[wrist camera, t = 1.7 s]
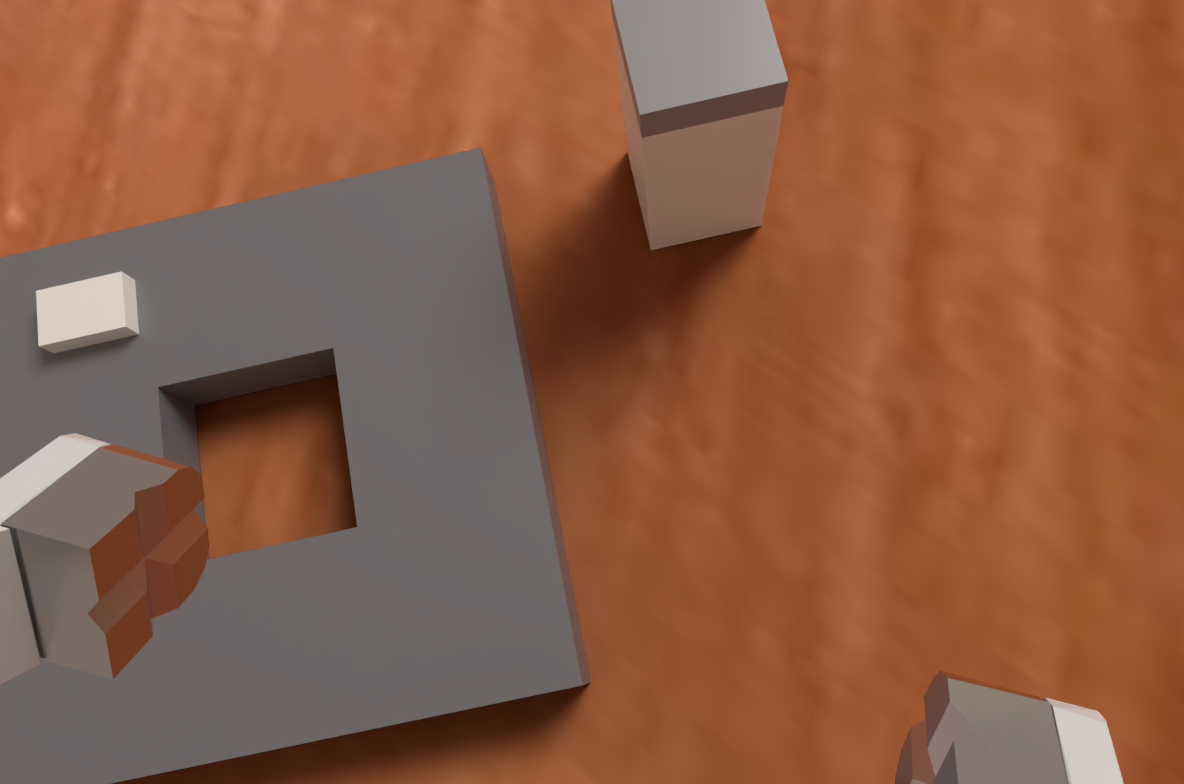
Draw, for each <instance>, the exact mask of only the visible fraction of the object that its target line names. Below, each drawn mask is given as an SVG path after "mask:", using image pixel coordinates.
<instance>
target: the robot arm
mask: <svg viewBox="0 0 1184 784" xmlns="http://www.w3.org/2000/svg"><path fill="white" fill-rule="evenodd" d="M203 499H204V492H203V485H202V478H201V474H200V473H199V472H197V471H196V470H195V469H193V468H192V467H190V466H186V465H183V464H180V463H176V462H173V461H170V460H166V459H163V458H160V457H156V456H153V455H150V454H146V453H143V452H140V451H136V450H133V449H130V448H126V447H123V446H120V445H116V444H109V443H106V442H103V441H99V440H96V439H93V438H90V437H86V436H83V435H80V434H77V433H74V434H68V435H62V436H59V437H58V438H56V439H55V440H53V441H52V442H51V443H49V444H48V445H46V446H45V447H44V448H42V449H41V450H40V451H38V452H37V453H35V454H34V455H33V456H31V457H30V458H28V459H27V460H26V461H24V462H23V463H21V464H20V465H19V466H17V467H16V468H14V469H13V470H12V471H10V472H9V473H7V474H6V475H5V476H3V477H2V478H0V684H2V683H4V682H6V681H8V680H10V679H12V678H14V677H16V676H18V675H20V674H22V673H24V672H26V671H28V670H30V669H32V668H34V667H35V666H37V665H39V664H41V659H42V660H45V661H49V662H53V663H56V664H60V665H63V666H67V667H70V668H74V669H78V670H81V671H85V672H88V673H92V674H96V675H99V676H103V677H106V678H110V679H114V678H115V677H116V676H117V675H118V674H119V673H120V672H121V670H122V669H123V668H124V667H125V666H126V665H127V664H128V663H129V662H130V661H131V660H132V658H133V657H134V656H135V655H136V654H137V653H138V652H139V651H140V650H141V649H142V648H143V646H144V645H145V644H146V643H147V642H148V641H149V640H150V639H151V638H152V637H153V618H155V617H157V616H160V615H162V614H165V613H167V612H170V611H172V610H175V609H177V608H179V607H180V606H181V605H182V603H183V602H184V601H185V600H186V599H187V598H188V596H189V595H190V594H191V593H192V592H193V591H194V589H195V587H196V585H197V583H198V581H199V579H200V577H201V575H202V573H203V571H204V568H205V566H206V561H207V555H208V549H209V541H208V529H207V528H206V526H205V525H204V523H203V522H202V521H201V519H200V518H199V517H198V515H197V514H196V512H195V511H194V509H195V508H196V507H197V505H198V504H199V503H200V502H201V501H202V500H203ZM924 699H925V717H926V720H925V721H922V722H920V723H918V724H916V725H914V726H912V727H911V728H910V730H909V733H908V735H907V738H906V740H905V743H904V745H903V748H902V750H901V754H900V758H899V763H898V767H897V771H896V776H895V784H1124V782H1123V778H1122V775H1121V771H1120V768H1119V764H1118V761H1117V757H1116V754H1115V750H1114V747H1113V743H1112V740H1111V736H1110V733H1109V729H1108V726H1107V722H1106V720H1105V719H1104V717H1103V716H1102V715H1101V714H1100V713H1099V712H1098V711H1096V710H1092V709H1088V708H1084V707H1080V706H1076V705H1072V704H1068V703H1064V702H1060V701H1056V700H1053V699H1049V698H1043V699H1042V698H1040V697H1038V696H1034V695H1030V694H1027V693H1023V692H1019V691H1015V690H1012V689H1008V688H1004V687H1000V686H996V685H993V684H989V683H985V682H981V681H978V680H974V679H970V678H966V677H962V676H959V675H955V674H951V673H947V672H943V671H940V672H939V673H938V674H937V675H936V676H935V677H934V678H933V680H932V682H931V684H930V686H929V688H928V690H927V692H926V695H925V697H924Z"/></svg>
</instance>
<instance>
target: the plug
mask: <svg viewBox="0 0 1184 784" xmlns="http://www.w3.org/2000/svg"><path fill="white" fill-rule="evenodd" d="M611 8H612V17H613V27H614V36H615V45H616V54H617V63H618V72H619V81H620V90H621V99H622V108H623V117H624V127H625V136H626V145H627V153H628V157H629V161H630V166H631V170H632V174H633V178H634V182H635V187H636V191H637V195H638V199H639V204H640V208H641V212H642V216H643V221H644V225H645V229H646V233H647V237H648V242H649V246H650V250H654V249H659V248H663V247H668V246H672V245H677V244H681V243H686V242H690V241H695V240H699V239H704V238H708V237H713V236H717V235H722V234H726V233H730V232H735V231H739V230H744V229H748V228H753V227H757V226H761V224H762V218H763V213H764V208H765V202H766V197H767V192H768V186H769V181H770V176H771V170H772V165H773V160H774V154H775V149H776V144H777V138H778V133H779V127H780V122H781V117H782V111H783V106H784V101H785V95H786V90H787V85H788V79H787V75H786V72H785V68H784V65H783V62H782V58H781V55H780V51H779V48H778V45H777V41H776V38H775V34H774V31H773V28H772V24H771V21H770V18H769V14H768V11H767V7H766V4H765V1H764V0H611Z"/></svg>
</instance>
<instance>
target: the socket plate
mask: <svg viewBox="0 0 1184 784" xmlns="http://www.w3.org/2000/svg"><path fill="white" fill-rule="evenodd" d="M334 374H337V379H338V387H339V394H340V402H341V409H342V417H343V424H344V432H345V439H346V447H347V454H348V462H349V469H350V477H351V484H352V492H353V499H354V507H355V514H356V522H357V527H355V528H351V529H346V530H341V531H337V532H332V533H327V534H323V535H318V536H314V537H309V538H304V539H300V540H295V541H290V542H286V543H281V544H277V545H272V546H267V547H263V548H258V549H253V550H249V551H244V552H240V553H235V554H230V555H226V556H221V557H216V558H212V559H209V558H208V555H207V561H206V566H205V568H204V571H203V573H202V575H201V577H200V579H199V581H198V583H197V585H196V587H195V589H194V591H193V592H192V593H191V594H190V595H189V596H188V598H187V599H186V600H185V601H184V602H183V603H182V605H181V606H180V607H179V608H177V609H175V610H172V611H170V612H167V613H165V614H162V615H160V616H157V617H155V618H153V637H152V638H151V639H150V640H149V641H148V642H147V643H146V644H145V645H144V646H143V648H142V649H141V650H140V651H139V652H138V653H137V654H136V655H135V656H134V657H133V658H132V660H131V661H130V662H129V663H128V664H127V665H126V666H125V667H124V668H123V669H122V670H121V672H120V673H119V674H118V675H117V676H116V677H115V678H114V679H110V678H106V677H103V676H99V675H96V674H92V673H88V672H85V671H81V670H78V669H74V668H70V667H67V666H63V665H60V664H56V663H53V662H49V661H45V660H42V659H41V664H39V665H37V666H35V667H34V668H32V669H30V670H28V671H26V672H24V673H22V674H20V675H18V676H16V677H14V678H12V679H10V680H8V681H6V682H4V683H2V684H0V784H112V783H116V782H121V781H126V780H131V779H136V778H140V777H145V776H150V775H155V774H160V773H164V772H169V771H174V770H179V769H184V768H188V767H193V766H198V765H203V764H208V763H212V762H217V761H222V760H227V759H232V758H236V757H241V756H246V755H251V754H256V753H260V752H265V751H270V750H275V749H280V748H284V747H289V746H294V745H299V744H304V743H308V742H313V741H318V740H323V739H328V738H332V737H337V736H342V735H347V734H352V733H357V732H361V731H366V730H371V729H376V728H381V727H385V726H390V725H395V724H400V723H405V722H409V721H414V720H419V719H424V718H429V717H433V716H438V715H443V714H448V713H453V712H457V711H462V710H467V709H472V708H477V707H481V706H486V705H491V704H496V703H501V702H505V701H510V700H515V699H520V698H525V697H529V696H534V695H539V694H544V693H549V692H553V691H558V690H563V689H568V688H573V687H577V686H582V685H585V684H588V683H590V677H589V672H588V667H587V662H586V656H585V651H584V646H583V641H582V636H581V630H580V625H579V620H578V615H577V610H576V604H575V599H574V594H573V589H572V583H571V578H570V573H569V568H568V563H567V557H566V552H565V547H564V542H563V537H562V531H561V526H560V521H559V516H558V510H557V505H556V500H555V495H554V490H553V484H552V479H551V474H550V469H549V463H548V458H547V453H546V448H545V443H544V437H543V432H542V427H541V422H540V417H539V411H538V406H537V401H536V396H535V390H534V385H533V380H532V375H531V370H530V364H529V359H528V354H527V349H526V344H525V338H524V333H523V328H522V323H521V317H520V312H519V307H518V302H517V297H516V291H515V286H514V281H513V276H512V271H511V265H510V260H509V255H508V250H507V244H506V239H505V234H504V229H503V224H502V218H501V213H500V208H499V203H498V198H497V192H496V187H495V182H494V179H493V177H492V174H491V172H490V169H489V167H488V164H487V162H486V159H485V157H484V154H483V152H482V150H481V148H477V149H472V150H468V151H464V152H459V153H455V154H451V155H446V156H442V157H437V158H433V159H429V160H424V161H420V162H416V163H411V164H407V165H403V166H398V167H394V168H389V169H385V170H381V171H376V172H372V173H368V174H363V175H359V176H355V177H350V178H346V179H341V180H337V181H333V182H328V183H324V184H320V185H315V186H311V187H307V188H302V189H298V190H293V191H289V192H285V193H280V194H276V195H272V196H267V197H263V198H259V199H254V200H250V201H245V202H241V203H237V204H232V205H228V206H224V207H219V208H215V209H211V210H206V211H202V212H197V213H193V214H189V215H184V216H180V217H176V218H171V219H167V220H163V221H158V222H154V223H150V224H145V225H141V226H136V227H132V228H128V229H123V230H119V231H115V232H110V233H106V234H102V235H97V236H93V237H88V238H84V239H80V240H75V241H71V242H67V243H62V244H58V245H54V246H49V247H45V248H40V249H36V250H32V251H27V252H23V253H19V254H14V255H10V256H6V257H1V258H0V478H2V477H3V476H5V475H6V474H7V473H9V472H10V471H12V470H13V469H14V468H16V467H17V466H19V465H20V464H21V463H23V462H24V461H26V460H27V459H28V458H30V457H31V456H33V455H34V454H35V453H37V452H38V451H40V450H41V449H42V448H44V447H45V446H46V445H48V444H49V443H51V442H52V441H53V440H55V439H56V438H58V437H59V436H62V435H68V434H74V433H77V434H80V435H83V436H86V437H90V438H93V439H96V440H99V441H103V442H106V443H109V444H116V445H120V446H123V447H126V448H130V449H133V450H136V451H140V452H143V453H146V454H150V455H153V456H156V457H160V458H163V459H166V460H170V461H173V462H176V463H180V464H183V465H186V466H190V467H192V468H193V469H195V470H196V471H197V472H199V473H200V474H201V469H200V458H199V447H198V436H197V424H196V413H195V405H199V404H204V403H208V402H213V401H217V400H222V399H226V398H231V397H235V396H240V395H244V394H249V393H253V392H258V391H262V390H267V389H271V388H276V387H280V386H285V385H289V384H294V383H298V382H303V381H307V380H312V379H316V378H321V377H325V376H330V375H334ZM194 511H195V512H196V514H197V515H198V517H199V518H200V519H201V521H202V522H203V523H204V525H205V514H204V502H203V500H202V501H201V502H200V503H199V504H198V505H197V507H196V508H195V509H194ZM205 526H206V525H205Z"/></svg>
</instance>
